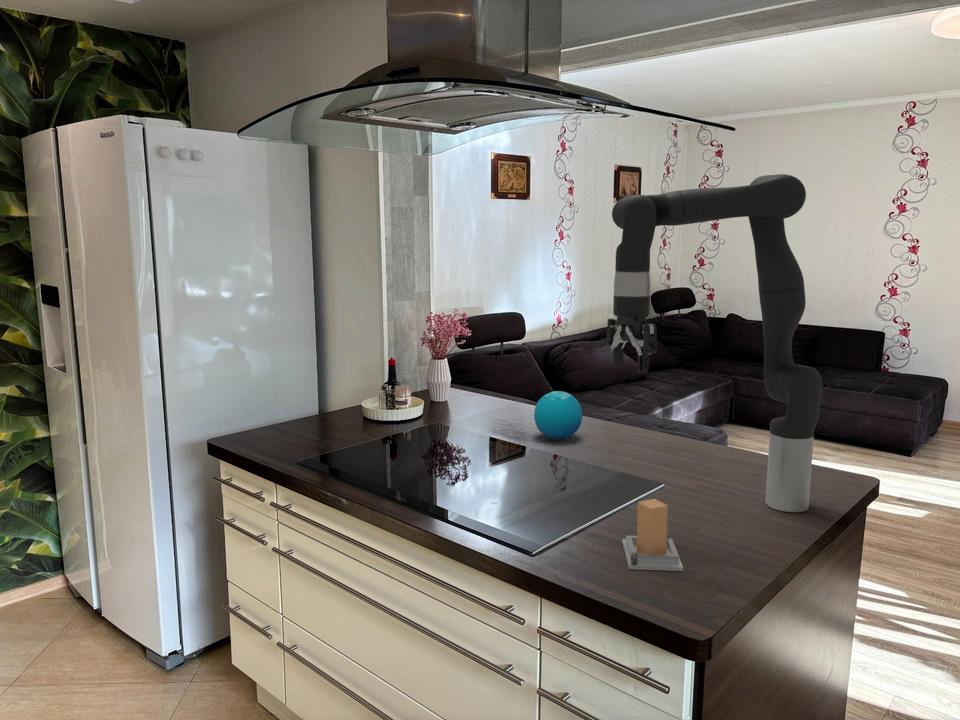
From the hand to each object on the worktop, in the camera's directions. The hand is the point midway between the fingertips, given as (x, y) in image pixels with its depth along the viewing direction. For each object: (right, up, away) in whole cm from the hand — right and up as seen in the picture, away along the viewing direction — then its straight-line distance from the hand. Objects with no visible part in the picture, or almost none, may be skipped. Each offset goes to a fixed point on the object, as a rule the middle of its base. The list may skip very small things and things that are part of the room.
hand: (630, 369), depth 150 cm
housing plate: (+2, -36, -11) cm, 38 cm away
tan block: (+2, -36, -11) cm, 37 cm away
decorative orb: (-8, -23, +71) cm, 75 cm away
